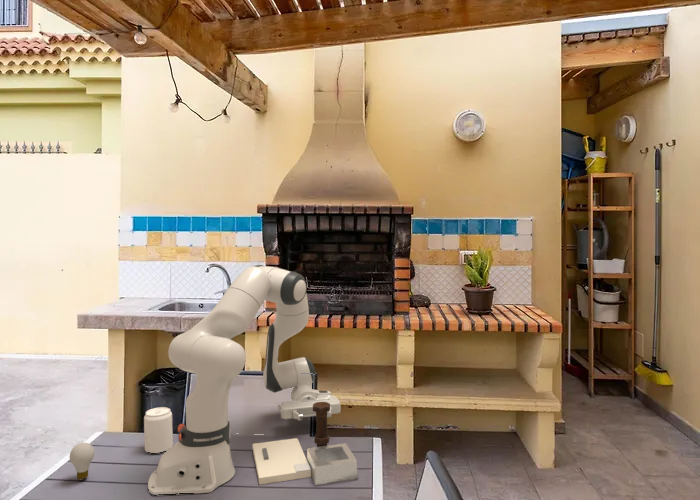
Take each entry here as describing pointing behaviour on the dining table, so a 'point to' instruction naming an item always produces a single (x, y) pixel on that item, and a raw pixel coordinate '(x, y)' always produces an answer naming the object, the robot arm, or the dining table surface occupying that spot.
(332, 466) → the hollow square frame
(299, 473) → the cabinet door
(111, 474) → the dining table surface
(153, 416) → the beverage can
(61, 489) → the dining table surface
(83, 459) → the light bulb
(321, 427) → the bolt
